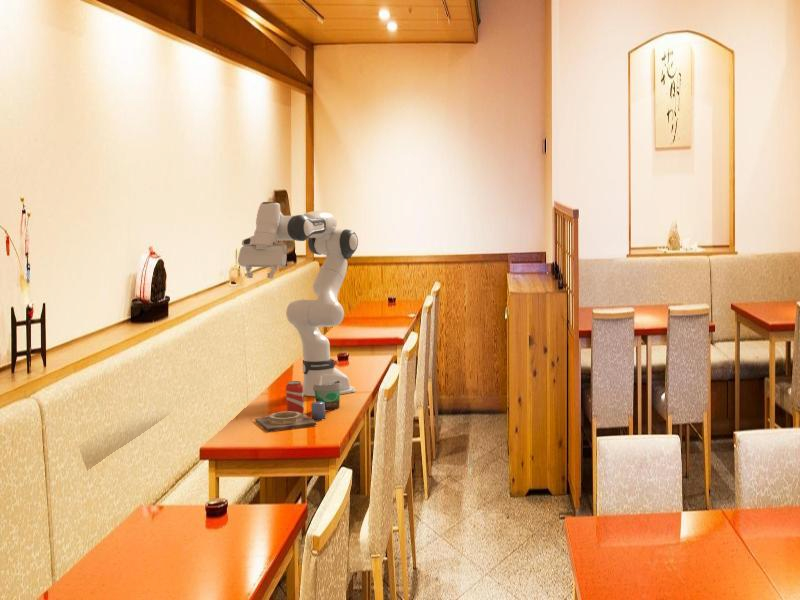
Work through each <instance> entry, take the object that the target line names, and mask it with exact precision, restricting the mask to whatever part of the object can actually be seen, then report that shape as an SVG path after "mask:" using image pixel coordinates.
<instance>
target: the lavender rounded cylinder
mask: <svg viewBox="0 0 800 600" xmlns="http://www.w3.org/2000/svg"><path fill="white" fill-rule="evenodd" d="M310 404H311V405H310V406H311V407H310V408H311V419H314V421H323V420H322V419H324V420H325V419H326V411H325V402H316V401H313V402H311V403H310Z"/></svg>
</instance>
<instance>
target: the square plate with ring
mask: <svg viewBox="0 0 800 600" xmlns="http://www.w3.org/2000/svg"><path fill="white" fill-rule="evenodd" d="M254 420H255V421H256V422H255V421H254V422H255V423H257V425H259V426H260V427H261V428H263V430H265V431H266V432H267V431H268V432H267V433H270V432H271V431H272V432H277V431H276V430H279V431H284V430H283V429H287V430H293V429H292V428H295V429H301V428H300V427H303V428H309V427H308V426H311V427H315V426H314V425H317V422H316V420H312V417H309V416H308V415H307V414H305V413H304V412H302V413H299V412H293V411H287V410H285V411H277V412H273V413H271V414H268V416H263V417H256V418H254Z"/></svg>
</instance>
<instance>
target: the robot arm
mask: <svg viewBox="0 0 800 600" xmlns="http://www.w3.org/2000/svg"><path fill="white" fill-rule="evenodd" d="M281 211H282V210H281V204H280V203H279V202H275V201H263V202H261V203H260V205H259V207H258V209H257V214H256V218H255V226H256V228H255V231H254V234H253V235H252V236H250V237H247V238H245V239H242V241H241V245H242V246H241V248H240V250H239V253H238V259H237V263H238V265H239V266H242V267H243V268H245V271H246V278H248V279H253V277H254V273H252V271H251V270H252V269H253V268H270V269H271V270H270V271H269V272H268V273H267V276H266V277H267V278H268V279H271V280H272V279H274V275H275V274H276V272H277V270H278V268H285V266H286V265H287V257H288V256H287V255H288V254H287V252H288V245H287V244H286V243H285V242H277V241H297V242H304V241H306V240H307V247H308V249H309V250H310V252H311V253H312V254H315V255H324V256H325V259H324V261H323V263H322V265H321V266H320V269H319V270H318V273H317V275H316V277H315V279H314V281H313V284H312V288H313V292H314V294H315V295H316V296H317V298H316V299H298V300H293V301H291V302H290V303H289V304H288V306H287V308H286V311H285V312H286V318H287V320H288V322H289V323H290V324H291V325H293V327H294V328H295V329H296V331H297V332H298V333H297V334H299V336H300V340H301V343H302V344H301V345H302V353H303V360H302V373H303V380H302V385H303V396H309V397H315V391H314V390H313V387H314V385H324V384H333V383H337V380H338V381H340V383H341V385H342V388H340V395H345V394H349V393H355V392H356V388H355V387H354V386H353V385H351V383H350V380H349V377H348V375H347V374H346V373H345V372H342V371H341V370H340V369H338V368H337V367H336V366H338V365H339V361H338V360H337V359H333V358H331V348H330V347H331V346H330V345H331V344H330V340H329V339H328V337H327V336H325V335H323V334H322V332H321V331H320V329H319V328H330V327H336V326H339V325H340V324H342V321H343V320H344V318H345V312H344V311H345V310H344V308H343V306H342V304H341V303H340V302H339V299H338V298H339V293H340V290H341V287H342V285H343V282H344V280H345V277H346V274H347V269H348V264H349V263H348V261H347V260H348V259H351V257H353V255H354V253H356V251H357V249H358V245H359V239H358V236H357V233H356V232H355V231H354V230H351V229H342V228H341V229H339V228H337V219H336V217H335V216H334V215H333V214H332V213H330V212H327V211H325V210H322V211H321V210H314V211H309V212H306V213H304V214H297V215H296V214H295V215H284V214H283V213H282V212H281Z"/></svg>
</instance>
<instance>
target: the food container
mask: <svg viewBox="0 0 800 600" xmlns="http://www.w3.org/2000/svg"><path fill="white" fill-rule="evenodd" d="M340 388H342V385H341V383H340V381H338V380H337V383H333V384H324V385H314V387H313V390H314V391H315V396H314V397H315V402H325V410H329V411H335V409H336V410H338V409H340V403H341V402H340V400H341V398H340V397H341V394H340Z"/></svg>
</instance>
